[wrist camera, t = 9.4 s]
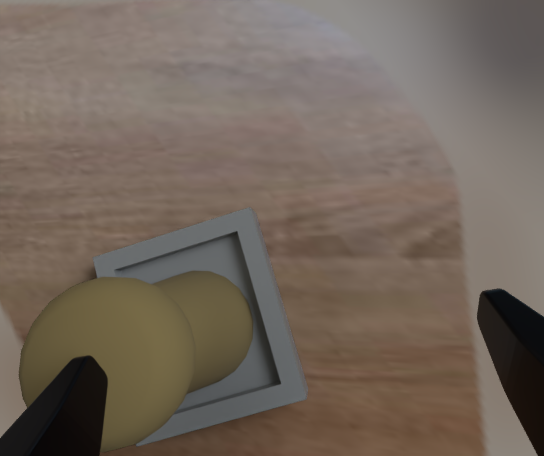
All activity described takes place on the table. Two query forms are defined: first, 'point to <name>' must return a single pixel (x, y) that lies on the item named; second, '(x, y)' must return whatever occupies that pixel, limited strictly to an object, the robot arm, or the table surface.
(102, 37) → the table surface
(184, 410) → the gray tray
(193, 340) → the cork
